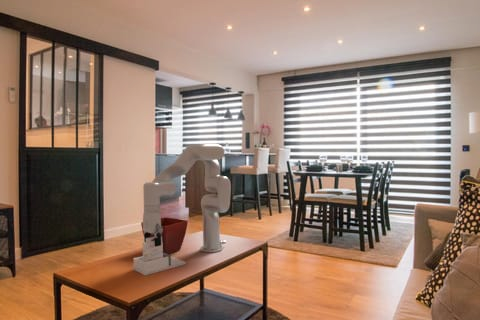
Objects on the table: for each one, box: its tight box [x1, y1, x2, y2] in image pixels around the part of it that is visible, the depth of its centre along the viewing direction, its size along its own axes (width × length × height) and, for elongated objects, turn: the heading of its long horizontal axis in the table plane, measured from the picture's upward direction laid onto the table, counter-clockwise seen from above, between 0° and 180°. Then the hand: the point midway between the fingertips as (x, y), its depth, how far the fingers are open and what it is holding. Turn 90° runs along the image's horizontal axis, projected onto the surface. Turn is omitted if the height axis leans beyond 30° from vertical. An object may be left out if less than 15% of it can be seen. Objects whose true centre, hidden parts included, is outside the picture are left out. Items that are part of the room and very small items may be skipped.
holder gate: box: [163, 252, 172, 266], centre depth 164 cm, size 1×10×5 cm, turn 43°
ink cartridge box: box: [141, 237, 163, 262], centre depth 160 cm, size 9×5×15 cm, turn 125°
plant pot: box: [140, 216, 189, 255], centre depth 189 cm, size 19×19×17 cm
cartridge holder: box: [133, 255, 186, 276], centre depth 162 cm, size 22×11×6 cm, turn 134°
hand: (152, 243), depth 159 cm, fingers open, 9 cm apart
